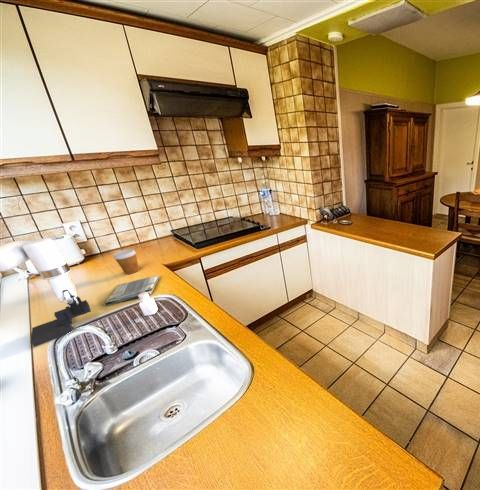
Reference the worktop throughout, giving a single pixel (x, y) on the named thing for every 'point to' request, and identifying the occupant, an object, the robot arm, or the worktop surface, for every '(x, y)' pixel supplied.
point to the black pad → (68, 314)
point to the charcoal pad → (50, 331)
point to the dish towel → (132, 290)
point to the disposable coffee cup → (127, 261)
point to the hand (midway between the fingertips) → (78, 309)
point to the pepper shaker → (147, 304)
